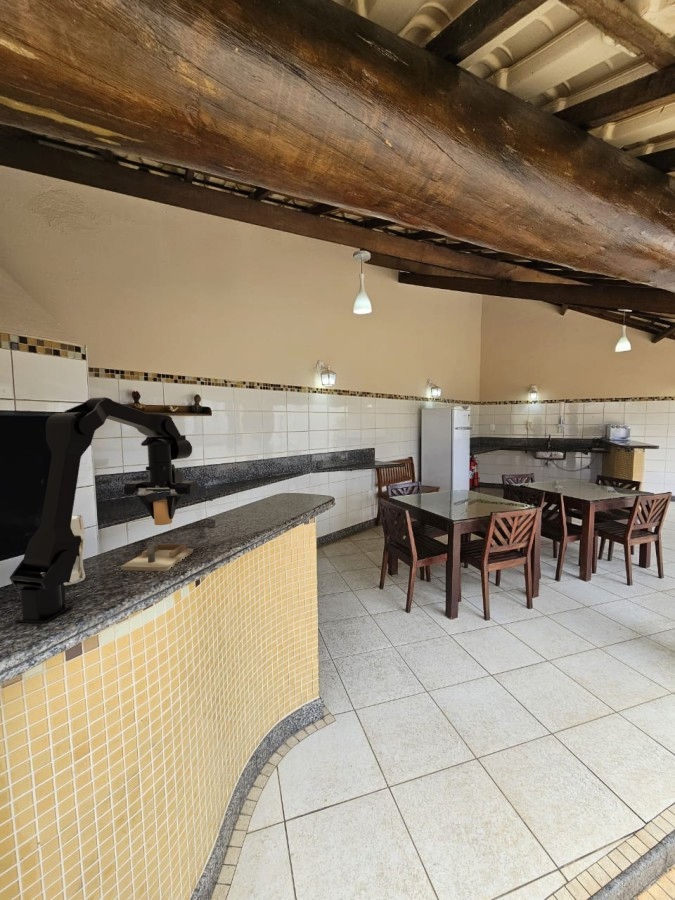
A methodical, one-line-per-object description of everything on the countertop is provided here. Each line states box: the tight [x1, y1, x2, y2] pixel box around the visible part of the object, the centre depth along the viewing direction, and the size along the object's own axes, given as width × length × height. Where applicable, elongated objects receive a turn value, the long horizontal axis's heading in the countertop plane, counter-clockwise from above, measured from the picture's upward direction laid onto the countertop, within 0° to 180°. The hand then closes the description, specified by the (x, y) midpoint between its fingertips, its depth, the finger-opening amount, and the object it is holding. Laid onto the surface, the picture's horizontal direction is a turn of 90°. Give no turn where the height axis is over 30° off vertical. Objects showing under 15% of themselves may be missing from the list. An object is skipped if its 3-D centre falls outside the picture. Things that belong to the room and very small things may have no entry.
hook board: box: [120, 542, 194, 572], centre depth 105 cm, size 14×12×5 cm
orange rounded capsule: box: [153, 499, 173, 526], centre depth 107 cm, size 4×4×6 cm
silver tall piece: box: [63, 514, 86, 587], centre depth 92 cm, size 7×7×15 cm
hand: (163, 518), depth 108 cm, fingers closed on orange rounded capsule, 4 cm apart
